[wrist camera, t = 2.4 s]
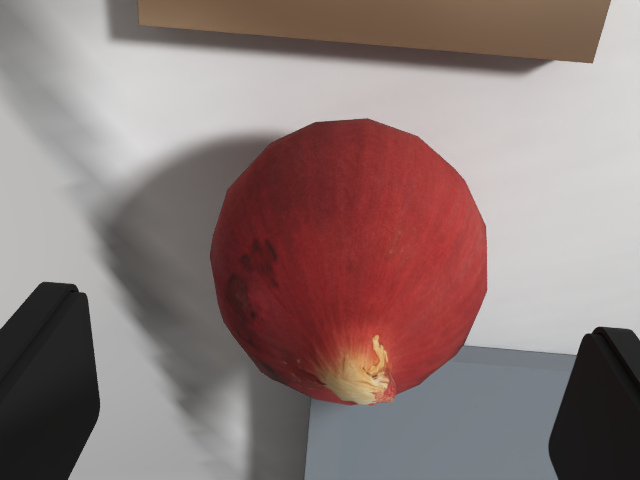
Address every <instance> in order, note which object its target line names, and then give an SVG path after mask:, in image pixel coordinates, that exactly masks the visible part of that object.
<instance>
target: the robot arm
mask: <svg viewBox="0 0 640 480" xmlns="http://www.w3.org/2000/svg"><path fill="white" fill-rule="evenodd" d="M97 382H98V381H97V373H96V365H95V357H94V348H93V339H92V331H91V323H90V314H89V306H88V299H87V296H86V294H85V293H81V292H79V291H78V288H77V287H76V285H74V284H66V283H53V282H42V283H41V284H39V285H38V287H37V288H36V289H35V290H34V291H33V292H32V293H31V295H30V296H29V297H28V298H27V299H26V300H25V302H24V303H23V304H22V305H21V306H20V308H19V309H18V310H17V311H16V312H15V313H14V314H13V316H12V317H11V318H10V319H9V320H8V321H7V322H6V324H5V325H4V326H3V327H2V328H1V329H0V480H68V478H69V476H70V474H71V472H72V470H73V468H74V466H75V464H76V462H77V460H78V458H79V456H80V454H81V452H82V450H83V448H84V446H85V444H86V442H87V440H88V438H89V436H90V434H91V432H92V430H93V428H94V426H95V424H96V422H97V419H98V416H99V411H100V398H99V390H98V383H97ZM548 451H549V457H550V460H551V463H552V465H553V468H554V470H555V473H556V475H557V478H558V480H640V340H639V339H638V337H637V336H636V335H635V333H634V332H633V331H632V330H629V329H622V328H609V327H597V328H595V330H594V331H593V332H592V334H586V335H585V336H584V337H583V339H582V341H581V344H580V347H579V350H578V353H577V356H576V360H575V363H574V366H573V369H572V372H571V375H570V378H569V381H568V384H567V387H566V390H565V393H564V396H563V399H562V402H561V405H560V408H559V411H558V414H557V417H556V420H555V423H554V426H553V429H552V432H551V435H550V438H549V444H548Z"/></svg>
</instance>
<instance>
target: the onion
mask: <svg viewBox="0 0 640 480" xmlns="http://www.w3.org/2000/svg"><path fill="white" fill-rule="evenodd" d="M210 260H211V265H212V271H213V277H214V283H215V288H216V294H217V300H218V305H219V308H220V312H221V315H222V318H223V321H224V323H225V324H226V326H227V327H228V329H229V330H230V332H231V334H232V335H233V336H234V338H235V339H236V340H237V342H238V343H239V344H240V345H241V347H242V348H243V349H244V351H245V352H246V353H247V354H248V356H249V357H250V358H251V359H252V361H253V362H254V363H255V365H256V366H257V367H258V368H259V370H260V371H261V372H262V373H264V374H265V375H267V376H268V377H270V378H271V379H273V380H275V381H278V382H280V383H282V384H285V385H287V386H289V387H291V388H293V389H295V390H297V391H299V392H301V393H303V394H305V395H307V396H309V397H311V398H313V399H316V400H320V401H326V402H332V403H338V404H344V405H350V406H351V405H357V404H363V405H370V406H373V405H375V404H377V403H382V402H393V401H394V398H395V395H397V394H399V393H402V392H404V391H406V390H409V389H411V388H413V387H416V386H418V385H420V384H421V383H422V382H423V381H424V380H426V379H427V378H428V377H429V376H430V375H431V374H433V373H434V372H435V371H436V370H438V369H439V368H440V367H441V366H443V365H444V364H445V363H447V362H448V361H449V360H450V359H452V358H453V357H454V356H455V355H457V353H458V352H459V350H460V349H461V348H462V346H463V345H464V343H465V341H466V339H467V336H468V334H469V332H470V330H471V327H472V325H473V323H474V321H475V318H476V316H477V314H478V312H479V309H480V307H481V305H482V302H483V300H484V297H485V294H486V292H487V240H486V225H485V223H484V221H483V219H482V217H481V214H480V212H479V210H478V208H477V206H476V204H475V201H474V199H473V197H472V195H471V193H470V190H469V188H468V186H467V184H466V182H465V180H464V179H463V178H462V177H461V176H460V174H459V173H458V172H457V171H456V170H455V169H454V168H453V167H452V166H451V165H450V164H449V163H447V162H446V161H445V160H444V159H443V158H442V157H441V156H440V155H438V154H437V153H436V152H435V151H434V150H433V149H432V148H431V147H429V146H428V145H427V144H426V143H425V142H424V141H423V140H421V139H420V138H419V137H418V136H415V135H413V134H410V133H407V132H404V131H401V130H399V129H396V128H393V127H390V126H387V125H385V124H382V123H379V122H376V121H373V120H370V119H368V118H367V119H353V120H339V121H325V122H315V123H312V124H310V125H308V126H306V127H304V128H302V129H300V130H297V131H295V132H293V133H291V134H289V135H287V136H285V137H282V138H280V139H278V140H276V141H274V142H272V143H271V144H270V145H269V146H268V147H267V148H266V149H265V150H264V151H263V152H262V153H261V154H260V155H259V156H258V157H257V158H256V160H255V161H254V162H253V163H252V164H251V165H250V166H249V167H248V168H247V169H246V170H245V171H244V172H243V173H242V174H241V175H240V177H239V178H238V179H237V180H236V181H235V182H234V183H233V184H232V186H231V187H230V188H229V189H228V190H227V193H226V197H225V200H224V203H223V206H222V209H221V212H220V215H219V219H218V222H217V225H216V228H215V231H214V234H213V239H212V246H211V252H210Z"/></svg>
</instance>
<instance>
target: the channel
mask: <svg viewBox="0 0 640 480" xmlns="http://www.w3.org/2000/svg"><path fill="white" fill-rule="evenodd" d="M575 360H576V355H564V354H553V353H541V352H529V351H518V350H506V349H495V348H483V347H472V346H462V348H461V349H460V350H459V352H458V353H457V355H455V356H454V357H453V358H452V359H450V360H449V361H448V362H447V363H445V364H444V365H443V366H441V367H440V368H439V369H438V370H436V371H435V372H434V373H433V374H431V375H430V376H429V377H428V378H427V379H426V380H424V381H423V382H422V383H421V384H420V385H418V386H416V387H413V388H411V389H409V390H406V391H404V392H402V393H399V394H397V395H395V398H394V401H393V402H382V403H377V404H375V405H373V406H370V405H363V404H357V405H351V406H350V405H344V404H338V403H332V402H326V401H320V400H316V399H313V398H311V407H310V418H309V429H308V441H307V452H306V463H305V475H304V480H558V478H557V475H556V473H555V470H554V468H553V465H552V463H551V460H550V457H549V451H548V444H549V438H550V435H551V432H552V429H553V426H554V423H555V420H556V417H557V414H558V411H559V408H560V405H561V402H562V399H563V396H564V393H565V390H566V387H567V384H568V381H569V378H570V375H571V372H572V369H573V366H574V363H575Z"/></svg>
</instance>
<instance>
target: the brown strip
mask: <svg viewBox="0 0 640 480" xmlns="http://www.w3.org/2000/svg"><path fill="white" fill-rule="evenodd" d="M137 2H138V16H139V25H144V26H156V27H168V28H179V29H191V30H203V31H215V32H227V33H239V34H251V35H262V36H274V37H286V38H298V39H310V40H322V41H334V42H346V43H357V44H369V45H381V46H393V47H405V48H417V49H429V50H441V51H452V52H464V53H476V54H488V55H500V56H512V57H524V58H535V59H547V60H559V61H571V62H583V63H593V60H594V57H595V53H596V50H597V47H598V43H599V40H600V36H601V33H602V29H603V26H604V22H605V19H606V16H607V12H608V9H609V5H610V2H611V0H137Z"/></svg>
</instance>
